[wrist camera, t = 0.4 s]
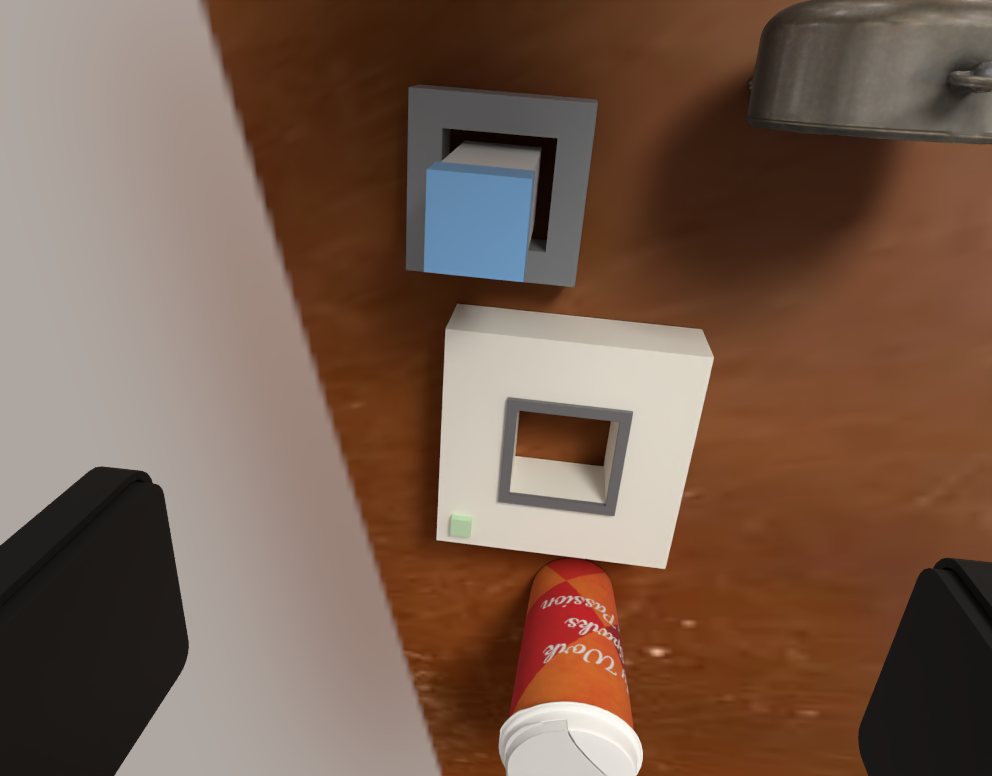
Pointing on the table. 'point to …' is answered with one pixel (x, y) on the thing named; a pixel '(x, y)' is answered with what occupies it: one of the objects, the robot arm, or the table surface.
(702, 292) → the table surface
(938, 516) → the table surface
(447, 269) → the plug
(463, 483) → the port panel
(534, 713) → the paper cup
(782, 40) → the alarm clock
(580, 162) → the grey square frame
